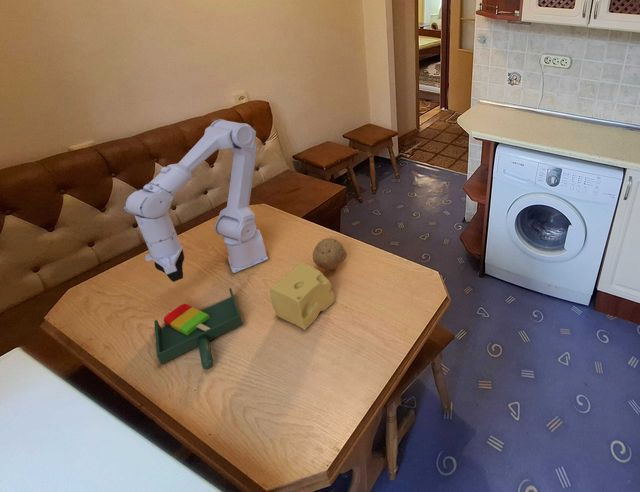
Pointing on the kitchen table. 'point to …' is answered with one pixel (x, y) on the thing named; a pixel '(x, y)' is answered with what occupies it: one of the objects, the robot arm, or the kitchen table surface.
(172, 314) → the popsicle
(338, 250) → the natural sponge
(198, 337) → the dustpan
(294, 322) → the cheese
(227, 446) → the kitchen table surface
